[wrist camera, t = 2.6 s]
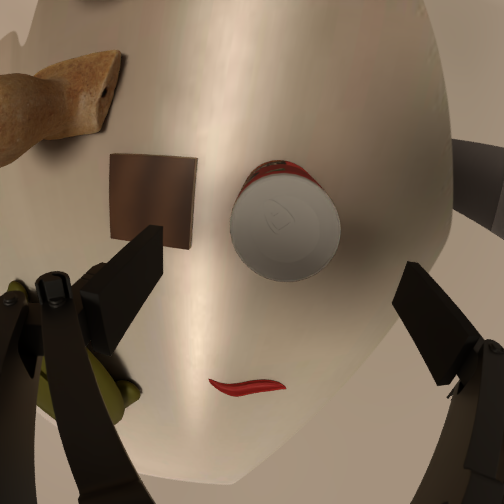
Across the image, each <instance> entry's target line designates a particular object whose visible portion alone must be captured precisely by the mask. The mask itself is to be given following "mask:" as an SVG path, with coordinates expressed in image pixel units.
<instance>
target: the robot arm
mask: <svg viewBox="0 0 504 504" xmlns="http://www.w3.org/2000/svg"><path fill="white" fill-rule="evenodd" d="M162 275H163V226H158V225H150V224H149V225H148V226H147V227H146V228H145V229H144V230H143V231H141V232H140V233H139V234H138V235H137V236H136V237H135V238H134V239H132V240H131V241H130V242H129V243H128V244H127V245H126V246H125V247H124V248H123V249H121V250H120V251H119V252H118V253H117V254H116V255H115V256H114V257H113V258H112V259H111V260H110V261H109V262H108V263H103V262H102V263H99V264H97V265H95V266H93V267H92V268H91V269H89V270H88V271H87V272H86V274H84V275H83V276H82V277H81V279H79V280H78V281H77V282H76V283H75V284H73V285H72V286H71V283H70V278H69V276H68V274H66V273H64V272H60V271H54V272H49V273H45V274H43V275H42V276H40V277H39V278H38V279H37V280H36V282H35V286H36V290H37V294H38V298H39V302H40V303H27V300H26V296H25V294H24V293H23V292H21V291H17V290H14V291H8V292H6V293H4V294H3V295H2V296H0V504H37V497H36V486H35V467H34V436H35V417H36V404H37V395H38V386H39V378H40V372H41V365H42V359H43V356H44V358H45V365H46V372H47V379H48V384H49V390H50V395H51V400H52V405H53V409H54V414H55V418H56V422H57V426H58V430H59V433H60V437H61V440H62V444H63V447H64V450H65V454H66V457H67V460H68V463H69V465H70V468H71V471H72V474H73V476H74V479H75V482H76V484H77V487H78V490H79V494H80V496H79V498H78V502H79V504H156V503H155V502H154V500H153V499H152V497H151V495H150V494H149V492H148V491H147V489H146V487H145V486H144V484H143V482H142V480H141V478H140V477H139V475H138V473H137V471H136V469H135V467H134V466H133V464H132V462H131V460H130V458H129V456H128V454H127V452H126V450H125V448H124V446H123V444H122V442H121V439H120V437H119V435H118V433H117V431H116V428H115V426H114V424H113V422H112V419H111V417H110V414H109V412H108V410H107V407H106V405H105V402H104V399H103V397H102V394H101V391H100V389H99V386H98V383H97V380H96V377H95V374H94V371H93V368H92V365H91V362H90V359H89V355H88V352H87V349H86V346H87V345H88V343H89V342H90V340H91V342H92V346H93V350H94V351H95V352H98V353H101V354H105V355H108V356H111V355H112V354H113V352H114V350H115V349H116V347H117V345H118V344H119V342H120V340H121V339H122V337H123V336H124V334H125V332H126V331H127V329H128V327H129V326H130V324H131V323H132V321H133V319H134V318H135V316H136V315H137V313H138V312H139V310H140V308H141V307H142V305H143V304H144V302H145V301H146V299H147V298H148V296H149V294H150V293H151V291H152V290H153V288H154V287H155V285H156V284H157V282H158V281H159V279H160V278H161V276H162ZM392 305H393V307H394V308H395V310H396V312H397V313H398V315H399V317H400V318H401V320H402V321H403V323H404V325H405V327H406V329H407V330H408V332H409V334H410V336H411V337H412V339H413V341H414V342H415V344H416V346H417V348H418V350H419V352H420V354H421V355H422V357H423V359H424V361H425V363H426V365H427V367H428V369H429V371H430V372H431V374H432V376H433V378H434V380H435V382H436V384H437V386H441V385H449V384H450V383H451V382H452V380H453V379H454V377H455V376H456V374H457V376H458V377H459V379H460V380H459V381H458V382H457V384H456V385H455V387H454V388H453V389H452V391H451V392H450V393H449V395H448V396H447V398H449V397H450V396H452V395H453V396H452V399H451V404H450V407H449V411H448V414H447V417H446V420H445V424H444V427H443V429H442V432H441V435H440V438H439V441H438V444H437V446H436V449H435V452H434V454H433V456H432V459H431V461H430V464H429V466H428V468H427V471H426V473H425V475H424V477H423V479H422V482H421V484H420V486H419V488H418V490H417V492H416V494H415V496H414V498H413V500H412V501H411V503H410V504H504V348H503V347H502V346H501V345H500V344H499V343H497V342H495V341H494V340H491V339H487V340H484V339H483V338H482V336H481V335H480V334H479V333H478V331H477V330H476V329H475V327H474V326H473V325H472V324H471V322H470V321H469V320H468V319H467V317H466V316H465V315H464V314H463V313H462V311H461V310H460V309H459V308H458V307H457V305H456V304H455V303H454V302H453V301H452V300H451V298H450V297H449V296H448V295H447V294H446V293H445V292H444V291H443V290H442V288H441V287H440V286H439V285H438V284H437V283H436V282H435V281H434V279H432V277H431V276H430V275H429V274H428V273H427V272H426V271H425V270H424V269H423V268H422V267H421V266H420V265H419V263H415V262H409V261H407V263H406V266H405V269H404V272H403V275H402V278H401V280H400V283H399V286H398V288H397V291H396V294H395V296H394V299H393V301H392Z"/></svg>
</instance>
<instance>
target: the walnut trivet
mask: <svg viewBox="0 0 504 504" xmlns="http://www.w3.org/2000/svg"><path fill="white" fill-rule="evenodd" d="M197 159H198V158H192V157H179V156H165V155H147V154H119V153H114V154H110V170H109V206H110V232H111V238H112V239H119V240H126V241H131V240H132V239H134V238H135V237H136V236H137V235H138V234H139V233H140V232H141V231H143V230H144V229H145V228H146V227H147V226H148V225H149V224H150V225H158V226H163V246H166V247H173V248H179V249H186V250H189V249H190V248H191V241H192V223H193V207H194V194H195V181H196V170H197Z"/></svg>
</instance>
